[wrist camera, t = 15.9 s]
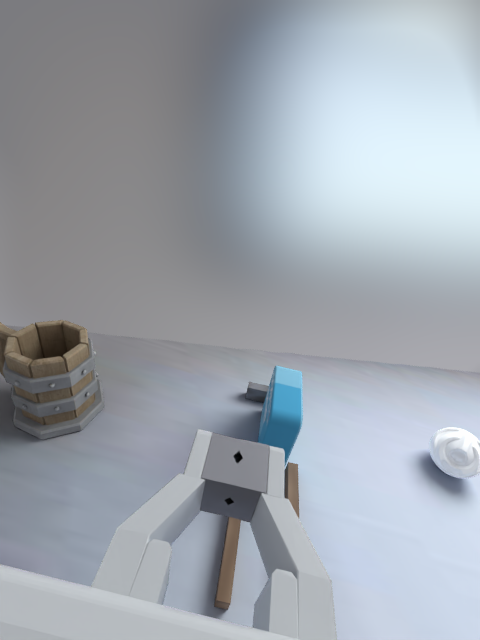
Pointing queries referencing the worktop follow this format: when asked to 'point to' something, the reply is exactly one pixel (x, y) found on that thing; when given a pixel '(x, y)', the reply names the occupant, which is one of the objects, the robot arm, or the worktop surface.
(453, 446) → the white ball
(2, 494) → the worktop surface
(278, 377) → the data package
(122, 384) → the worktop surface
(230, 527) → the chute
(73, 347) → the tankard
